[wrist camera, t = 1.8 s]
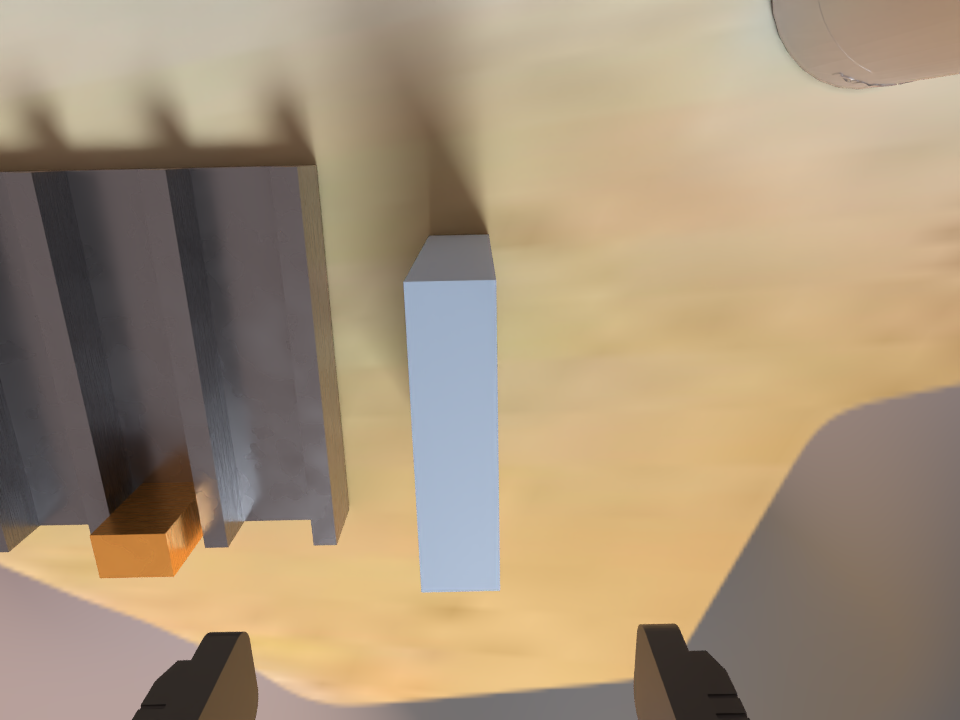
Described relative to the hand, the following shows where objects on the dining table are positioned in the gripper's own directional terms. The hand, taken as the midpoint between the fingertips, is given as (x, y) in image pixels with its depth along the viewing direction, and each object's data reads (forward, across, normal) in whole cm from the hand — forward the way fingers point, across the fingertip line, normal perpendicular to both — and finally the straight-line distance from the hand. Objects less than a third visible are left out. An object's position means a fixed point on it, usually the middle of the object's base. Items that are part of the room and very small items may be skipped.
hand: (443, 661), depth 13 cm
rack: (+22, +16, 0) cm, 27 cm away
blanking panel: (+22, 0, 0) cm, 22 cm away
